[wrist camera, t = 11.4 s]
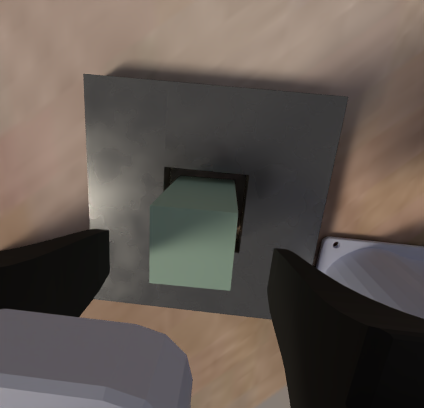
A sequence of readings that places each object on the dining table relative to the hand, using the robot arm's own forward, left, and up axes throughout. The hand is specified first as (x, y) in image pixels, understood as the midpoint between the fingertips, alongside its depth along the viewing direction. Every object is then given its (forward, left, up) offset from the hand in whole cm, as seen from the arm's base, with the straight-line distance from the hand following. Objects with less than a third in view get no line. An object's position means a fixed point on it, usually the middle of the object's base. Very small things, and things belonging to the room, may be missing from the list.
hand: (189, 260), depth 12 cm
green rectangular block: (0, 0, -9) cm, 9 cm away
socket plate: (0, 0, -9) cm, 9 cm away
